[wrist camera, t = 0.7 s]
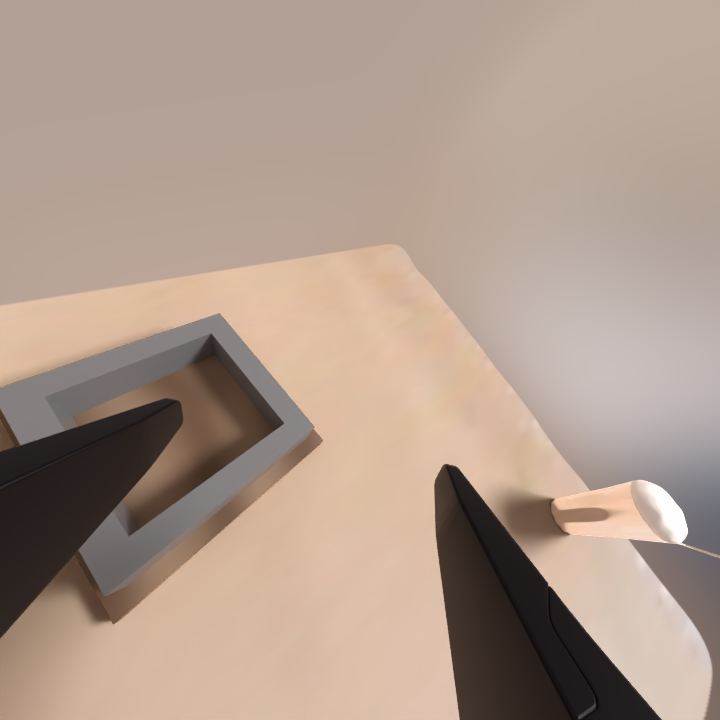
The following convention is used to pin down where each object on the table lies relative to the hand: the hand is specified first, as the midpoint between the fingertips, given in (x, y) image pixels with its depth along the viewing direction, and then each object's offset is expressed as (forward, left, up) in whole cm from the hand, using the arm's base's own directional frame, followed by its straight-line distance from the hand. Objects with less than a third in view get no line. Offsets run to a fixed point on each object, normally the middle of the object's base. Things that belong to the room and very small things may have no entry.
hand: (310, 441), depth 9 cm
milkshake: (+20, -23, -13) cm, 33 cm away
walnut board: (-2, +7, -13) cm, 15 cm away
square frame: (-2, +7, -12) cm, 14 cm away
